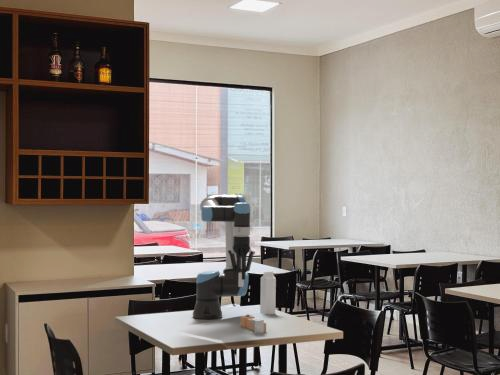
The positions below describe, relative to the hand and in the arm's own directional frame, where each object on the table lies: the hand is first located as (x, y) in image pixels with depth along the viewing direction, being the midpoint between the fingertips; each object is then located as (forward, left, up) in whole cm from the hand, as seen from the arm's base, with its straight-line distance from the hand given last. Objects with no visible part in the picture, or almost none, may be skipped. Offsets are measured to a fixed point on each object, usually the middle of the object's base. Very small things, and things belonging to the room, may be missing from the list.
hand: (241, 286), depth 325 cm
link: (+5, +3, -19) cm, 20 cm away
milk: (-21, +43, -21) cm, 52 cm away
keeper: (+13, -2, -19) cm, 23 cm away
